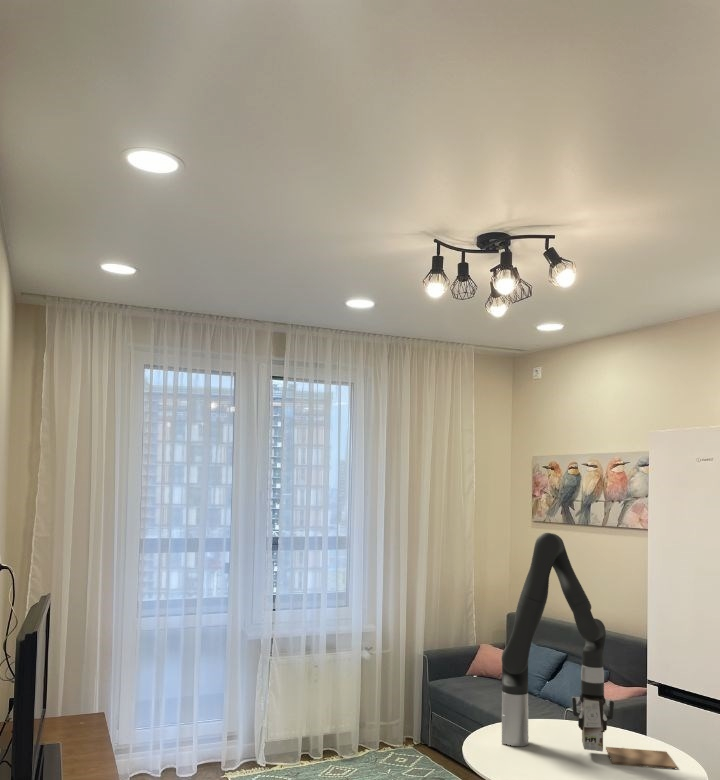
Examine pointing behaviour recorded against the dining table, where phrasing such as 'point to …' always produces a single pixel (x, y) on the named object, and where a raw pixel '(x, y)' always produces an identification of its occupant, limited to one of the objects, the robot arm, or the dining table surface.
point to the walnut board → (640, 757)
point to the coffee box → (592, 724)
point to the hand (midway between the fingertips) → (592, 730)
